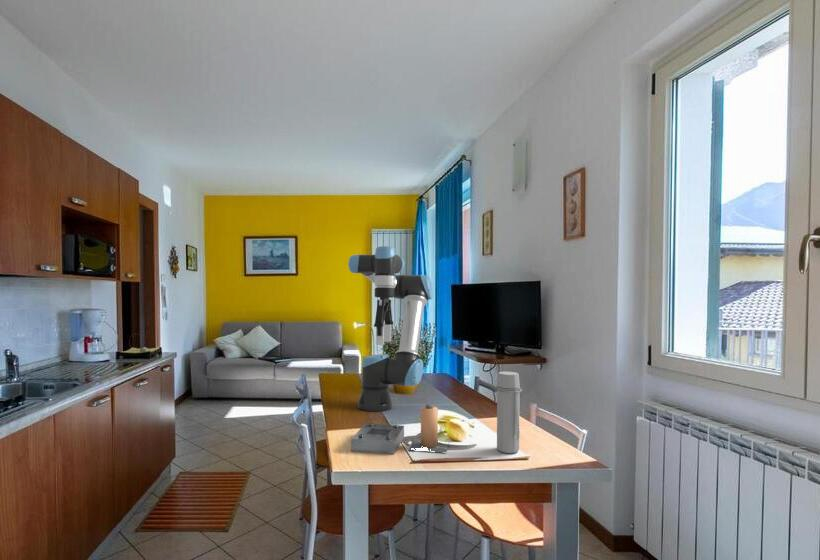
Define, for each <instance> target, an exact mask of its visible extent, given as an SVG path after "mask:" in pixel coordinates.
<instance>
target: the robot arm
mask: <svg viewBox="0 0 820 560" xmlns="http://www.w3.org/2000/svg"><path fill="white" fill-rule="evenodd" d="M347 264H348V270H349V271H350V273H353V274H361V275H362V276H364V277H365V278H366V279H368V280H369V281H371V282H372V283H373V284H374V286H375V287H374V297H375V298H379V299H377V300H376V302H377V303H376V305H377V306H376V311H375V312H376V313H375V320H374V323H373V327H374V328H375V346H384V343H385V342H392V325H394V322H393V314H392V312H393V311H392V300H391V299H390V298H394V299H401V300H403V302H404V303H405V309H404V315H403V320H402V328H401V335H400V339H399V346H398V350H397V351H395V353H394V356H393V357H390V355H389V353H381V354H373V355H368V356H367V355H366V356H364V358H363V360H362V367H361V368H362V370H361V373H362V375H361V376H362V381H361V382H362V383H361V384H362V388H361V393H360V396H359V399H358V401H357V402H358V403H357V408H358V409H359V410H360V411H367V412H383V411H388V410H391V409H392V408H393V402H392V397H391V394H390V391H389V385H391V386H403V387H416V386H417V385H419V383H420V382H421V380H422V378H423V377H422V376H423V375H424V374H423V373H424V361H423V360H422V359H421V355H420V354H419V346H420V338H421V330H422V323H423V315H424V310H425V306H427V305H428V302H429V301H430V300H432V299H433V292H434V291H433V283H432V280H431V277H430V276H429V275H427V274H426V275H425V274H411V275H410V274H400V273H401V272H402V271H403V270H404V268H405V264H406V263H405V261H404V259H403V258H402V256H400V255H399V254H396V249H395V248H394V247H393V246H387V245H386V246H385V245H384V246H383V245H382V246H377V247H376V248H375V254H359V253H358V254H352V255H351V256H350V257H349V258H348V263H347Z"/></svg>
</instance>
